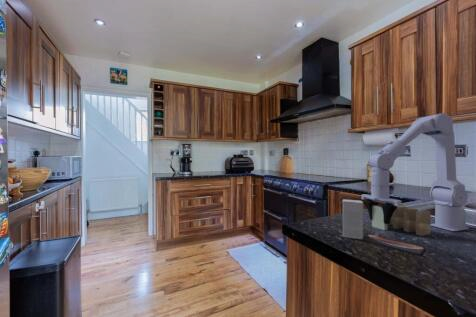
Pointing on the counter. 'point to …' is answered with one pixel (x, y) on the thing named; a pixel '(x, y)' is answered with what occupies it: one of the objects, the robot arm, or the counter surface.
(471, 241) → the counter surface
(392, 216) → the domino
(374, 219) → the domino
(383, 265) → the counter surface
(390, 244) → the brown flat slab
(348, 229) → the skincare box
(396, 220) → the domino
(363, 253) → the counter surface
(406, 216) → the domino
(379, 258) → the counter surface
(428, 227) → the domino
